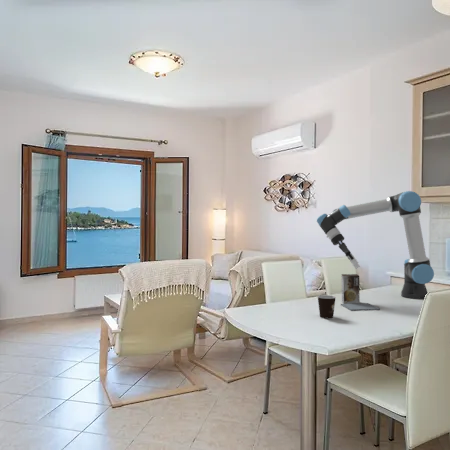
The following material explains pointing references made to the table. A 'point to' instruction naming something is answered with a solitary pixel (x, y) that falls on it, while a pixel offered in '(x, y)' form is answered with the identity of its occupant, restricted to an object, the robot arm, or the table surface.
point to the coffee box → (350, 288)
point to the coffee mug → (326, 306)
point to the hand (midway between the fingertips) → (357, 266)
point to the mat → (360, 306)
